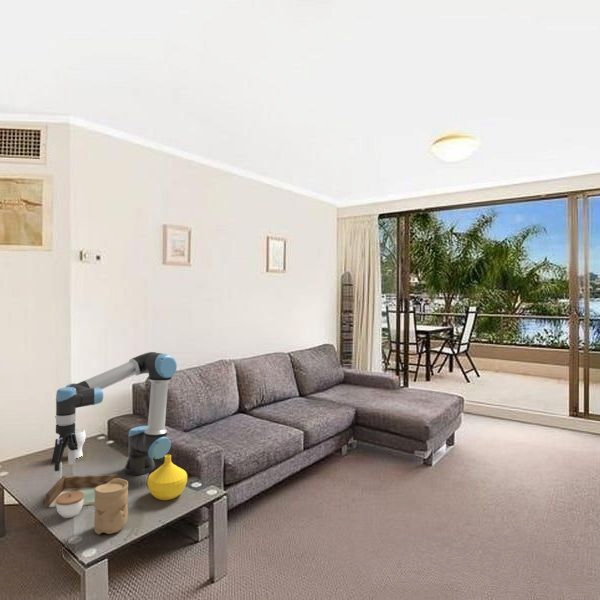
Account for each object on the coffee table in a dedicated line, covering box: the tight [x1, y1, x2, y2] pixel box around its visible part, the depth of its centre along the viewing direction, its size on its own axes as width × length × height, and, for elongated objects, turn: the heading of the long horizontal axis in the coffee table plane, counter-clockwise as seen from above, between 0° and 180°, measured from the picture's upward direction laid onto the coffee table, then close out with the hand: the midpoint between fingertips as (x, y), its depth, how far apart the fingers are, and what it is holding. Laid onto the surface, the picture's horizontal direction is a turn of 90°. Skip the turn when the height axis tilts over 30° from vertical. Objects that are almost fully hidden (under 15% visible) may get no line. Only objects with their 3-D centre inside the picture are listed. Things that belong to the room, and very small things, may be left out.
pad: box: [80, 488, 95, 503], centre depth 198 cm, size 14×14×1 cm
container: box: [93, 477, 129, 536], centre depth 173 cm, size 13×13×18 cm
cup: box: [68, 428, 87, 460], centre depth 244 cm, size 11×11×15 cm
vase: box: [147, 454, 188, 501], centre depth 201 cm, size 18×18×19 cm
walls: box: [45, 473, 119, 507], centre depth 199 cm, size 26×18×6 cm
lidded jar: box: [55, 491, 84, 519], centre depth 183 cm, size 11×11×9 cm
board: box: [45, 487, 96, 508], centre depth 199 cm, size 26×18×1 cm
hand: (64, 471), depth 185 cm, fingers open, 13 cm apart
